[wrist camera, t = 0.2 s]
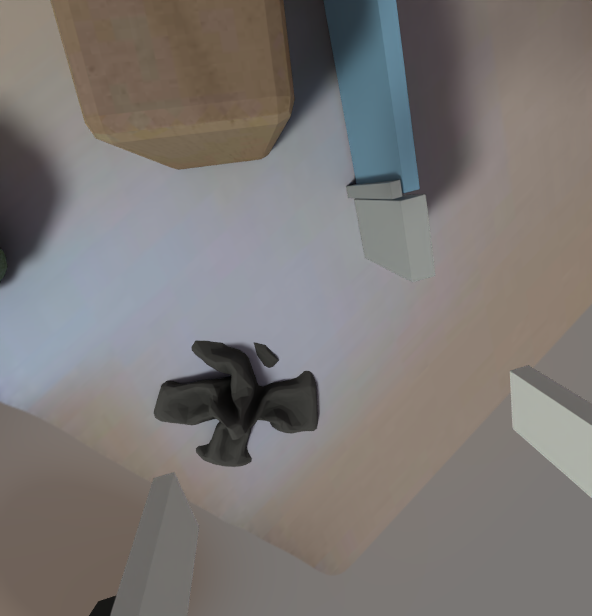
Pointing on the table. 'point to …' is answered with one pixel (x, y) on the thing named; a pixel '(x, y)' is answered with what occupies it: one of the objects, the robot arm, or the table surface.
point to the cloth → (237, 402)
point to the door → (373, 90)
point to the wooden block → (180, 76)
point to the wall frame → (394, 229)
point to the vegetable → (2, 264)
